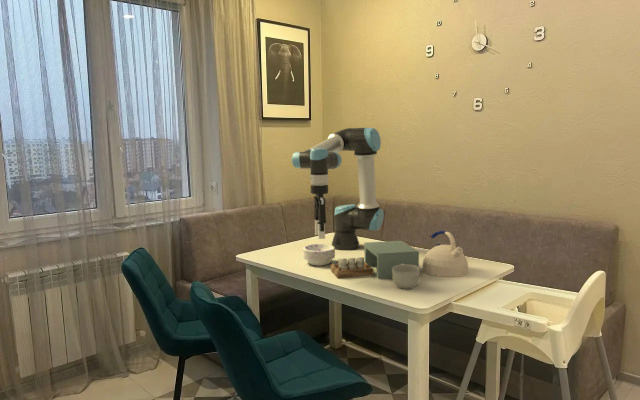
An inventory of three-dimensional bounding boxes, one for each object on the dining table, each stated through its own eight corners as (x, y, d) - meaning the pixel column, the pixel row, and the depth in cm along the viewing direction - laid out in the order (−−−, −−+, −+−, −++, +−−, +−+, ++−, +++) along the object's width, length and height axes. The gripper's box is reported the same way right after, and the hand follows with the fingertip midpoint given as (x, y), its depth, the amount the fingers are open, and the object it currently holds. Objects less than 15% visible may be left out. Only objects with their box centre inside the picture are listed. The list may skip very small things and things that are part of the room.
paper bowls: (320, 269, 220) (319, 252, 218) (296, 263, 230) (296, 247, 229) (341, 262, 231) (341, 246, 230) (318, 257, 241) (318, 242, 240)
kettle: (441, 279, 202) (442, 237, 199) (412, 267, 220) (413, 229, 218) (479, 273, 210) (480, 233, 207) (448, 262, 228) (449, 225, 226)
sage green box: (364, 265, 225) (364, 242, 223) (401, 263, 228) (401, 240, 227) (378, 278, 203) (378, 253, 202) (418, 276, 207) (418, 251, 205)
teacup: (419, 291, 186) (419, 271, 185) (390, 290, 188) (391, 270, 187) (419, 281, 200) (419, 262, 199) (392, 280, 202) (392, 261, 201)
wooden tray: (330, 271, 217) (330, 256, 216) (364, 269, 220) (364, 254, 219) (337, 279, 205) (337, 263, 204) (373, 276, 209) (373, 260, 208)
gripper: (307, 182, 214) (307, 232, 217) (314, 187, 194) (315, 242, 197) (323, 181, 216) (324, 231, 219) (332, 186, 195) (333, 241, 198)
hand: (320, 236), depth 208 cm, fingers open, 8 cm apart
